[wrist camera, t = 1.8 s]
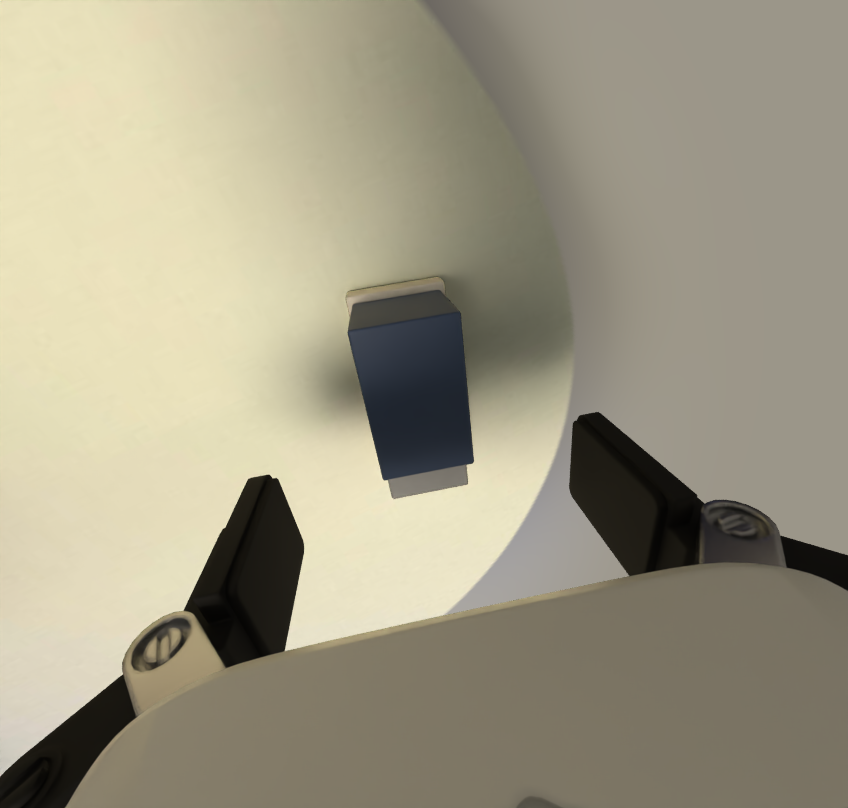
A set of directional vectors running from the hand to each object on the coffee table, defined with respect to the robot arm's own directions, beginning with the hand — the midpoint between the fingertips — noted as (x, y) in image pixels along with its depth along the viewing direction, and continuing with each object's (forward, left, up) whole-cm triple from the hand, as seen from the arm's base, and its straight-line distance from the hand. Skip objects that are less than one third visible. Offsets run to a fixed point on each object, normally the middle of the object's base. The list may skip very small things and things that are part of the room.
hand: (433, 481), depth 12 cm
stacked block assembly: (0, 0, -7) cm, 7 cm away
